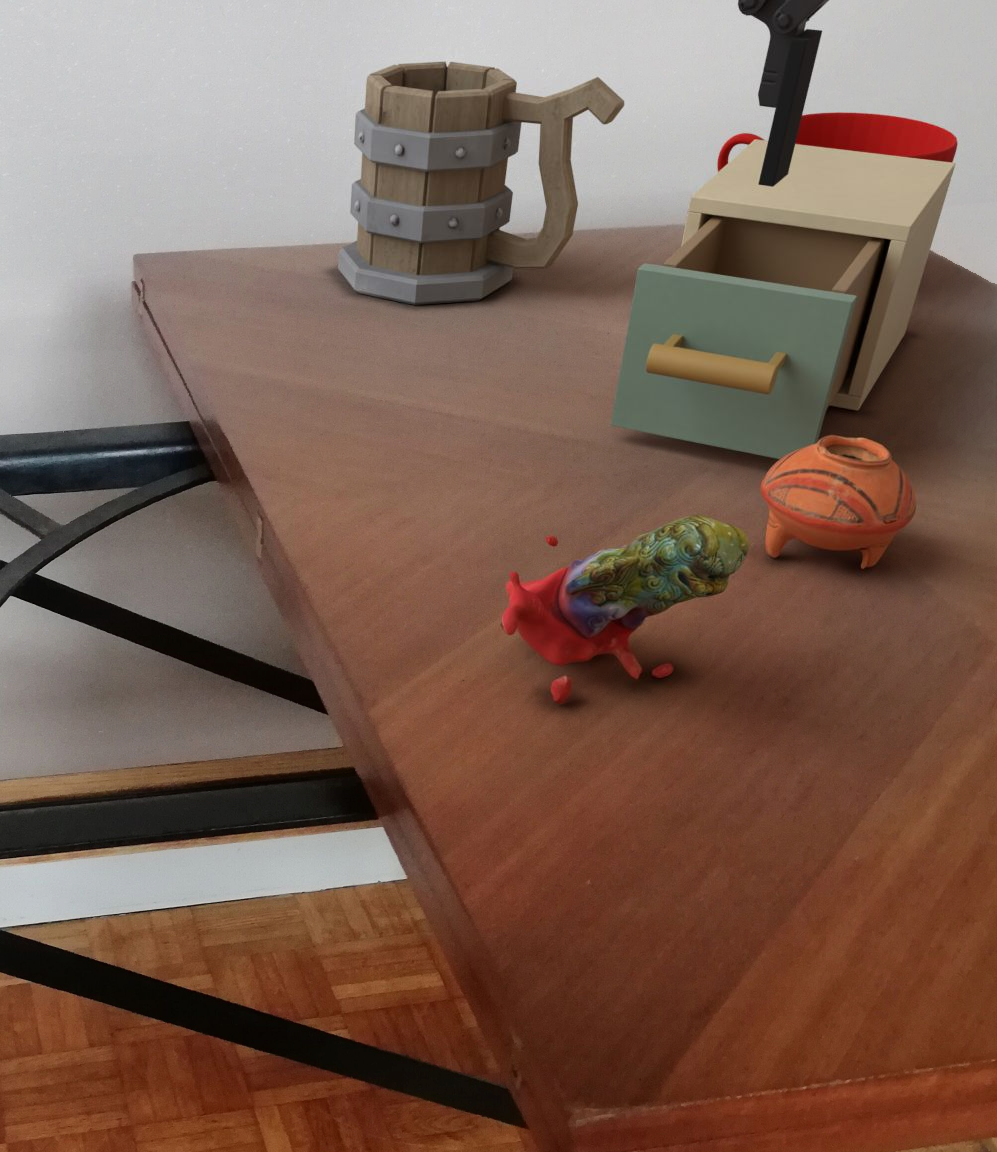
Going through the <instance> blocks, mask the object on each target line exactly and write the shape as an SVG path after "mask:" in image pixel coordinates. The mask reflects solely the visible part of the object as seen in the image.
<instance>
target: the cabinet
mask: <svg viewBox="0 0 997 1152" xmlns="http://www.w3.org/2000/svg"><path fill="white" fill-rule="evenodd" d="M767 144H768V140H765V139H764V140H756V139H755V140H754V141H753V142H751V143H750V144H749V145H747V146H745V147H744V148H743V149H742V150H741V151H740V152H739V153H737V155H735V157H734V158H732V159H731V160H730V161H728V164H727V165H726V166H725V167H724V168H722V169H721V170H720V171H719V172H718V171H717V172H716V173H715V174H714V175H713V176H712V177H711V178H710V179H709V180H708V181H706V183H704V184H703V185H702V186H701V187H700V188H699V189H697V191H695V192H694V193H693V194H692V195H691V196H690V198H689V203H688V209H687V211H688V212H687V215H686V219H685V224H684V230H683V235H682V240H681V245H680V247H681V246H683V245H684V244H685V243H686V242H687V241H688V240H689V239H690V238H691V237H692V236H693V235H694V234H695V233H696V232H697V231H698V230H699V229H700V228H701V227H702V226H703V225H704V224H705V223H707V222H708V221H709V220H710V219H711V218H712V217H713V216H714V215H718V216H725V217H732V218H739V219H747V220H754V221H761V222H768V223H776V224H783V225H790V226H797V227H804V228H812V229H819V230H826V231H833V232H840V233H848V234H855V235H862V236H869V237H876V238H884V239H887V241H886V245H885V248H884V252H883V255H882V259H881V263H880V266H879V270H878V273H877V277H876V280H875V284H874V288H873V291H872V295H871V298H870V302H869V306H868V309H867V313H866V316H865V320H864V324H863V327H862V331H861V334H860V338H859V341H858V345H857V349H856V352H855V356H854V359H853V362H852V367H851V370H850V374H849V376H848V377H847V379H846V380H845V382H844V384H843V385H842V387H841V388H840V390H839V391H838V393H837V394H836V396H835V397H834V399H833V400H832V402H831V404H830V405H829V407H835V408H839V409H840V408H841V409H847V410H852V411H859V410H860V408H861V406H862V405H863V403H865V400H866V398H867V397H868V395H869V393H870V392H871V390H872V388H873V387H874V386H875V384H876V382H877V380H878V379H879V377H880V375H881V373H883V370H884V369H885V368H886V365H887V364H888V362H889V361H890V359H891V357H892V356H893V354H894V353H895V351H896V350H897V347H898V346H899V345H900V342H901V341H902V339H903V338H904V336H905V335H906V332H907V329H908V324H909V321H910V318H911V315H912V312H913V308H914V304H915V302H916V298H917V295H918V292H919V288H920V285H921V282H922V277H923V275H924V271H925V268H926V264H927V262H928V257H929V254H930V251H931V248H932V244H933V241H934V237H935V234H936V231H937V227H938V223H939V221H940V219H941V218H940V217H941V214H942V210H943V207H944V204H945V201H946V198H947V193H948V191H949V187H950V183H951V180H952V177H953V174H954V170H955V168H956V167H955V166H956V163H955V162H952V163H951V162H942V161H934V160H926V159H917V158H909V157H900V156H892V155H883V154H875V153H866V152H858V151H849V150H841V149H832V148H824V147H815V146H807V145H798V144H795V147H794V151H793V155H792V160H791V164H790V168H789V172H788V175H787V176H785V177H784V178H783V179H782V180H781V181H779V182H778V183H777V184H776V185H775V186H773V187H771V186H764V185H758V183H759V179H760V175H761V170H762V166H763V162H764V157H765V153H766V148H767Z"/></svg>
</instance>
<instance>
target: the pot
mask: <svg viewBox="0 0 997 1152" xmlns="http://www.w3.org/2000/svg"><path fill="white" fill-rule="evenodd" d="M759 491H760V494H761V496H762V498H763V500H764V501H765V502H766V505H767V507H768V509H769V511H768V519H767V520H768V521H767V527H766V531H765V550H766V553H767V555H769V556H770V557H771V558H774V559H776V558H778V557H779V556H780V555H781V552H782V550H783V549H784V547H785V545H786V544H788V542H790V541H791V540H793V539H797V540H799V541H801V542H802V543H803V544H807V545H809V546H810V547H811V546H812V547H815V548H819V549H824V550H829V551H830V550H831V551H852V550H858V551H859V552H860V553H861V554H862V561H861V564H860V568H861V569H864V570H865V569H866V568H871V567H873V566H875V565H876V564H877V563H878V562H879V561H880V559H881V557H882V556H883V555H884V553H885V551H886V549H887V548H888V546H889V545H890V544H891V542H892V541H893V538H894V537H895V536H896V535H897V533H898V532H899V531H901V530H902V529H903V528H905V527H906V526H907V525H908V524H909V523H910V522H911V521H912V519H913V518H914V515H915V514H916V510H917V509H916V508H917V499H916V493H915V490H914V488H913V486H912V483H911V481H910V479H909V478H908V476H907V475H906V473H905V472H904V471H903V469H902V468H901V467H900V466H899V465H898V464H897V463H896V462H895V461H894V460H893V459H892V454H891V452H890V450H889V449H888V448H887V447H886V446H885V445H883V444H881V443H880V442H877V441H875V440H872V439H869V438H867V437H845V436H840V435H835V434H829V435H825V436H823V437H821V438H820V439H818V442H817V443H815V444H812V445H809V446H806V447H803V448H801V449H798V450H796V451H794V452H792V453H790V454H788V455H786V456H784V457H783V458H781V459H778V460H777V461H776V462H775V463H774V464H772V466H771V467H770V468H769V469H768V471H767V472H766V474H765V476H764V477H763V479H762V481H761V483H760V487H759Z"/></svg>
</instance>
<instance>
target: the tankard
mask: <svg viewBox="0 0 997 1152" xmlns="http://www.w3.org/2000/svg"><path fill="white" fill-rule="evenodd" d="M517 84H518V83H517V81H516V80H515V79H514V78H513V77H511V76H510V75H509V74H507V73H505V72H504V71H503V70H501V69H499V68H495V67H493V66H486V65H480V64H479V65H478V64H472V63H463V62H456V61H450V62H449V64H448V65H447V62H446V61H429V62H409V63H398V64H393V65H390V66H387V67H385V68H382V69H379V70H377V71H374V72H372V73H370V74H369V75H367V77H366V83H365V100H364V101H365V102H364V108H362V109H360V110H357V112H355V118H354V119H355V122H354V139H353V144H354V146H355V147H356V148H357V149H358V150H359V151H360V152H361V167H360V178H359V179H357V180H355V181H353V182H352V183H351V191H350V210H349V213H350V214H351V216H352V217H353V218H354V219H355V220H356V222H357V233H356V234H357V236H356V241H353V242H352V243H349V244H348V245H346V246H344V247H342V248H340V250H339V251H338V260H337V269H338V271H339V272H340V273H341V275H342V276H343V277H344V278H345V280H346V281H347V283H349V284H350V286H351V287H352V289H353V290H354V291H355V292H356V293H357V294H362V295H366V296H371V297H376V298H381V299H386V300H390V301H394V302H399V303H403V304H408V305H414V306H418V305H419V306H421V305H434V304H446V303H448V304H449V303H460V302H461V303H462V302H477V301H480V300H482V299H483V298H485V297H487V296H488V295H490V294H491V293H493V292H495V291H496V290H498V289H500V288H501V287H503V286H504V285H506V284H508V283H509V282H511V281H512V280H513V274H514V269H516V270H518V269H521V270H522V269H524V270H525V269H526V270H528V269H531V270H532V269H533V270H534V269H537V270H539V269H540V270H541V269H542V270H543V269H544V270H545V269H548V268H549V267H552V266H553V264H554V263H555V261H556V260H557V258H558V257H559V255H560V254H561V252H562V251H563V249H564V248H565V247H566V245H567V244H568V242H569V241H570V240H571V238H572V236H573V235H574V234H573V233H574V228H575V224H576V217H577V211H578V207H579V201H578V195H577V189H576V184H575V177H574V171H573V165H572V144H573V143H572V142H573V127H574V126H573V125H574V118H576V117H577V116H579V115H581V114H583V113H585V112H587V111H589V112H590V113H591V114H592V115H593V117H595V118H596V119H597V120H598V121H599V122H600V123H601V125H608V124H610V123H612V122H613V121H614V120H615V119H616V117H617V116H618V115H619V114H620V112H621V111H622V109H623V108H624V107H625V100H624V99H623V98H622V97H621V96H619V94H618V93H616V92H615V91H614V90H613V89H612V88H611V87H610V86H609V85H608V84H606V82H604V81H603V80H602V79H601V78H600V77H599V76H596V77H595V78H591V79H590V80H588V81H585V82H582V83H581V84H578V85H576V86H574V87H571V88H569V89H566V90H562V91H559V92H557V93H553V94H550V95H547V96H538V95H533V94H529V93H528V94H526V93H521V92H517ZM523 123H525V124H535V125H539V147H538V168H539V169H538V170H539V174H540V179H541V185H542V190H543V196H544V203H545V206H546V207H545V214H544V218H543V224H542V228H541V229H540V231H539V233H538V234H537V236H536V237H533V238H524V237H521V236H518V235H516V234H512V233H510V232H507V231H504V230H501V228H502V227H504V226H506V225H507V224H508V223H510V221H511V212H512V203H513V195H514V192H513V190H512V189H511V188H509V186H507V185H506V178H507V170H508V162H509V161H508V160H509V158H510V157H513V156H514V155H516V154H517V153H518V152H519V147H520V139H521V131H522V130H521V129H522V124H523Z"/></svg>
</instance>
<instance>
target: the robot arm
mask: <svg viewBox="0 0 997 1152" xmlns="http://www.w3.org/2000/svg"><path fill="white" fill-rule="evenodd" d="M829 1H830V0H737V6H738V10H739V12H740V13H741V14H742V15H743V16H744V15H745V16H746V17H747V16H751V17H752V18H754V19H757V20H758V21H760V22H761V23H763V24H764V25H766V27H767V28H768V29H767V30H768V31H769V42H768V47H767V51H766V56H765V59H764V65H763V70H762V74H761V79H760V83H759V88H758V92H757V97H758V105H759V107H766V108H771V109H773V108H774V114H773V118H772V123H771V126H770V130H769V131H770V132H769V136H768V139H767V141H768V144H767V148H766V153H765V157H764V162H763V166H762V170H761V175H760V179H759V183H758V185H764V186H771V187H773V186H775V185H776V184H777V183H778V182H779V181H781V180H782V179H783V178H784V177H785V176H787V175H788V172H789V168H790V164H791V160H792V155H793V151H794V147H795V143H796V139H797V135H798V130H799V126H800V122H801V118H802V115H804V109H805V105H806V100H807V96H808V93H809V90H810V89H809V88H810V85H811V80H812V76H813V72H814V68H815V63H816V58H817V56H818V50H819V46H820V42H821V38H822V34H823V30H821V29H812V28H811V29H810V28H806V25H807V23H808V22H809V21H810V19H812V18H813V16H815V14H816V13H818V12H819V11H820V10H821V9H822V8H823V7H824V6H825V5H826V4H827V3H828V2H829Z"/></svg>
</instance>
